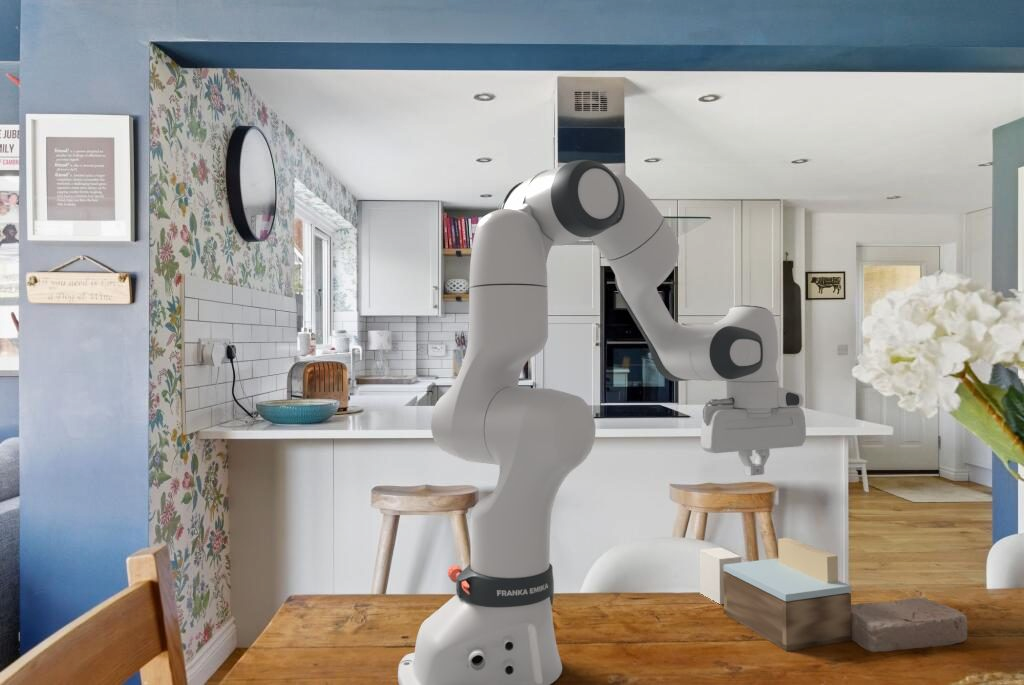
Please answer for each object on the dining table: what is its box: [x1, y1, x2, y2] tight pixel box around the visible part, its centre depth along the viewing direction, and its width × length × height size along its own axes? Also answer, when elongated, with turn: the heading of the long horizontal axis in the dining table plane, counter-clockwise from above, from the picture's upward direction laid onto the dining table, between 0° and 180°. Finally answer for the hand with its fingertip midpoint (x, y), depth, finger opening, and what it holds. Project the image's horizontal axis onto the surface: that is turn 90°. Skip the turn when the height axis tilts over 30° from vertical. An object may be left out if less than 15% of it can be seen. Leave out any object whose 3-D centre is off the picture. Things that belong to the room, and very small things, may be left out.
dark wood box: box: [723, 572, 853, 652], centre depth 106 cm, size 12×15×7 cm
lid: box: [723, 537, 852, 601], centre depth 106 cm, size 12×15×5 cm
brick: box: [851, 597, 969, 653], centre depth 102 cm, size 17×8×5 cm, turn 100°
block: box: [699, 547, 742, 604], centre depth 119 cm, size 4×6×8 cm
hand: (754, 474), depth 118 cm, fingers closed
